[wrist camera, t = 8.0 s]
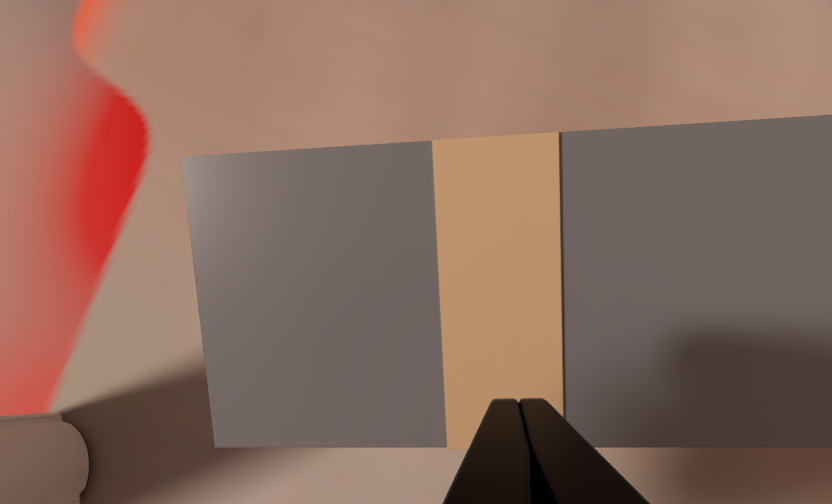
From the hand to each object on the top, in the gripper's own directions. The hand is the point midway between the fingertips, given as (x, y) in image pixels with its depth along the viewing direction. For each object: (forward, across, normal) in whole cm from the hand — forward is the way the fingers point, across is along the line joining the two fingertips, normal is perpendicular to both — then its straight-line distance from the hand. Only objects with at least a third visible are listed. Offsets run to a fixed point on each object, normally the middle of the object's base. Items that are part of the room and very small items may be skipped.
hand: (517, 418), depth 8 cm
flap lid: (+5, 0, -1) cm, 6 cm away
